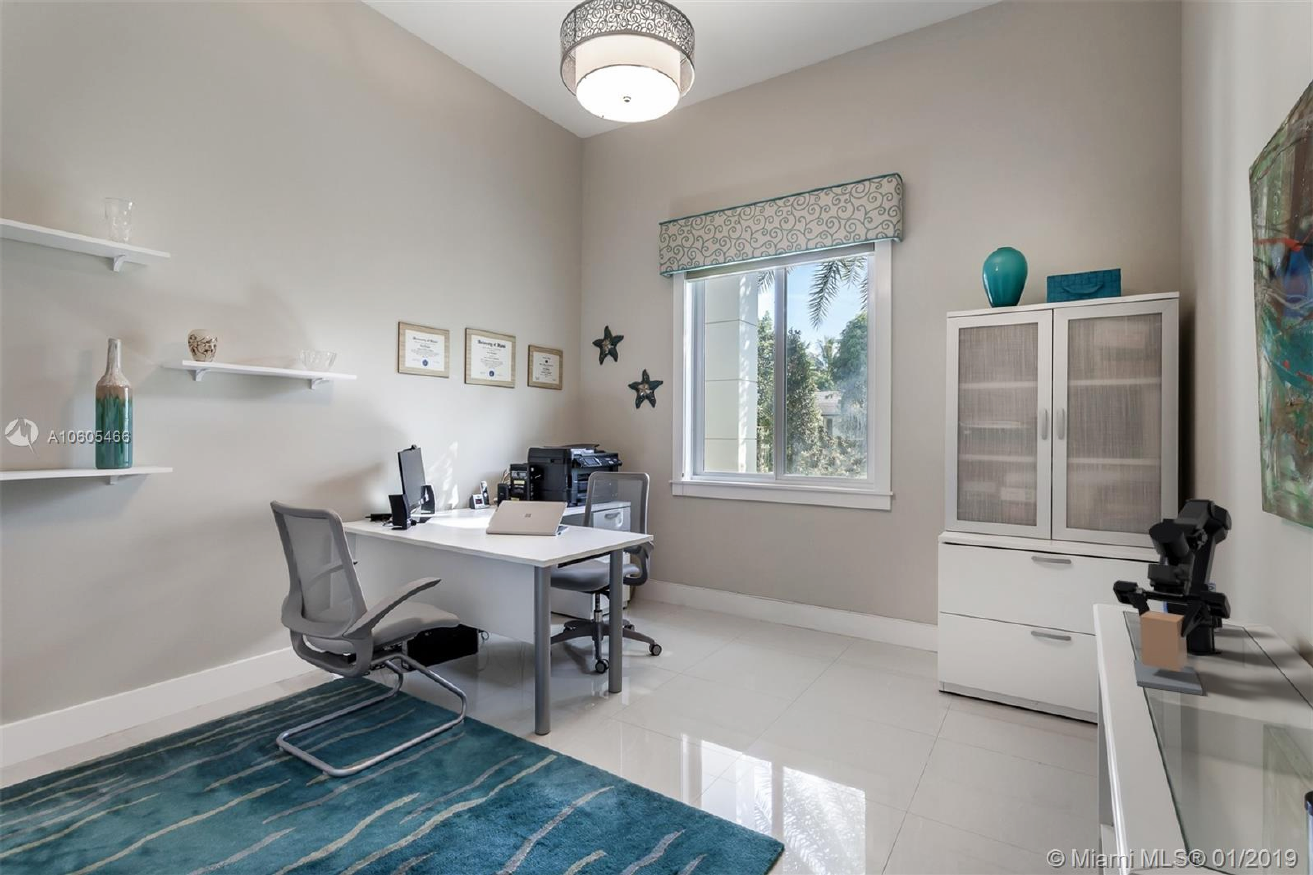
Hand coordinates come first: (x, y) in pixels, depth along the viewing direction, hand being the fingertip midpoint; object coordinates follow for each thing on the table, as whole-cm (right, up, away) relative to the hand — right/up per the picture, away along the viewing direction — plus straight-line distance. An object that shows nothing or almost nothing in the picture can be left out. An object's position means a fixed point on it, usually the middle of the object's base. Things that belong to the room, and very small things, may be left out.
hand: (1162, 632), depth 128 cm
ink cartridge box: (+32, -9, +30) cm, 44 cm away
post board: (+1, -10, 0) cm, 10 cm away
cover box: (+1, -7, 0) cm, 7 cm away
